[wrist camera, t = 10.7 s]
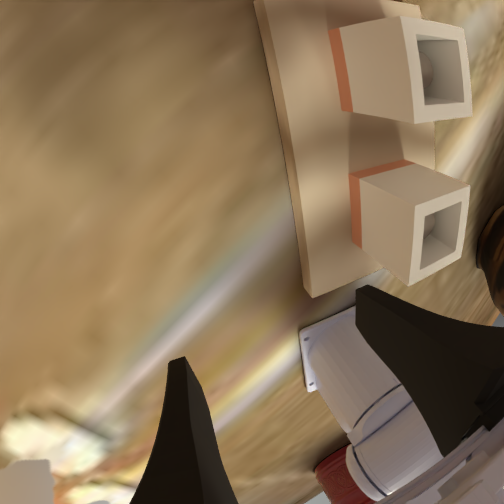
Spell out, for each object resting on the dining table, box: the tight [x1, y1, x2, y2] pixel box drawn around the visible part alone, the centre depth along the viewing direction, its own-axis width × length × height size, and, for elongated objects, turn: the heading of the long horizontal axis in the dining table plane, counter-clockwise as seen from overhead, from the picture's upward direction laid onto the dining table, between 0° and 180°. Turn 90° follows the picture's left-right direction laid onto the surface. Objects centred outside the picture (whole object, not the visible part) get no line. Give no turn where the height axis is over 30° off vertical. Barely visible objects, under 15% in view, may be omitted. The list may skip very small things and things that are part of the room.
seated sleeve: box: [348, 159, 470, 287], centre depth 18 cm, size 5×5×6 cm
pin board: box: [253, 0, 435, 298], centre depth 17 cm, size 20×12×6 cm, turn 12°
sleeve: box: [328, 16, 472, 124], centre depth 13 cm, size 5×5×6 cm
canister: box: [314, 443, 377, 504], centre depth 39 cm, size 13×13×18 cm
